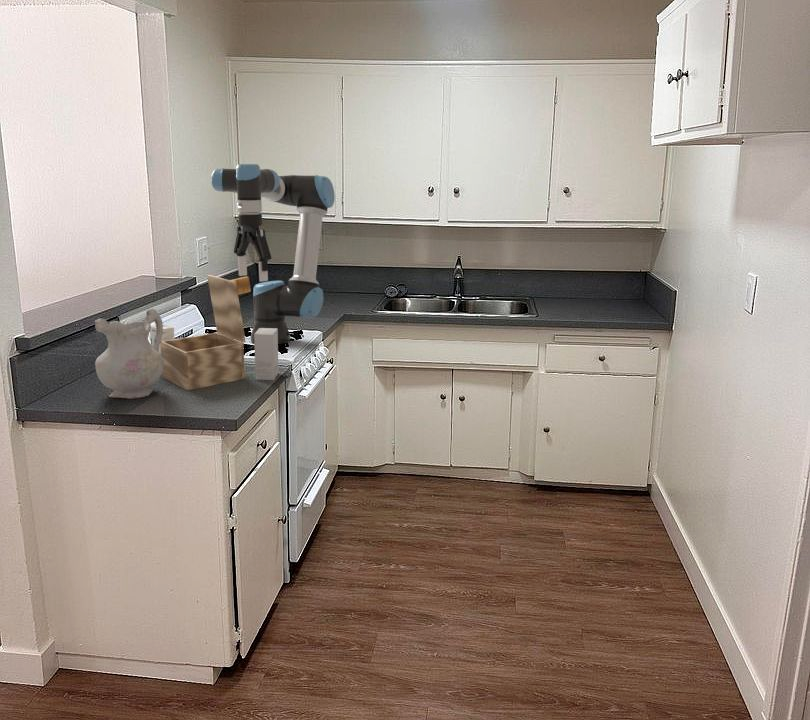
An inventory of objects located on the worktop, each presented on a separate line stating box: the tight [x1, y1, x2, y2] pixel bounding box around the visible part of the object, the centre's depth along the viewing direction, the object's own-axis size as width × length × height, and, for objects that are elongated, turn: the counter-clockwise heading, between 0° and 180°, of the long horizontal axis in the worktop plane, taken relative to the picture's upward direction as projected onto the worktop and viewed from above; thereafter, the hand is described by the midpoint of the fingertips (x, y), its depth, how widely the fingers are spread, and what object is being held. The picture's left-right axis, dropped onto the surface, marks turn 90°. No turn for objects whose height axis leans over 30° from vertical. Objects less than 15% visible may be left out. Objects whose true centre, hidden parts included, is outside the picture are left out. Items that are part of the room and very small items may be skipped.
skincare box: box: [253, 328, 279, 381], centre depth 247 cm, size 8×7×16 cm
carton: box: [160, 332, 246, 391], centre depth 246 cm, size 20×18×12 cm
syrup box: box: [149, 324, 175, 354], centre depth 256 cm, size 6×6×14 cm
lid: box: [206, 274, 252, 344], centre depth 250 cm, size 20×18×10 cm
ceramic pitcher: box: [94, 308, 164, 400], centre depth 229 cm, size 22×20×25 cm
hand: (253, 278), depth 252 cm, fingers open, 13 cm apart
